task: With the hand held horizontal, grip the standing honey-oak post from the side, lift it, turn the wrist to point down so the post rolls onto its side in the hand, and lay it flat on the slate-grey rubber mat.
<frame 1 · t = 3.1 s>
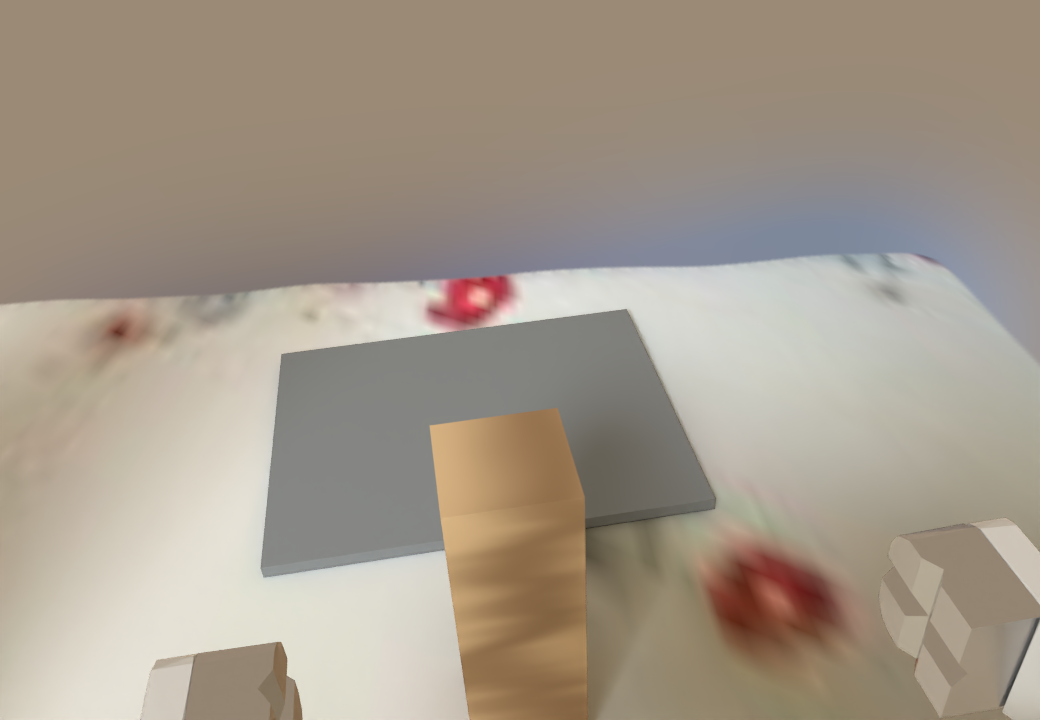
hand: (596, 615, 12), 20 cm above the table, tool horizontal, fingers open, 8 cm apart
slate mat: (473, 426, 46), on the table
oak post: (523, 701, 34), on the table
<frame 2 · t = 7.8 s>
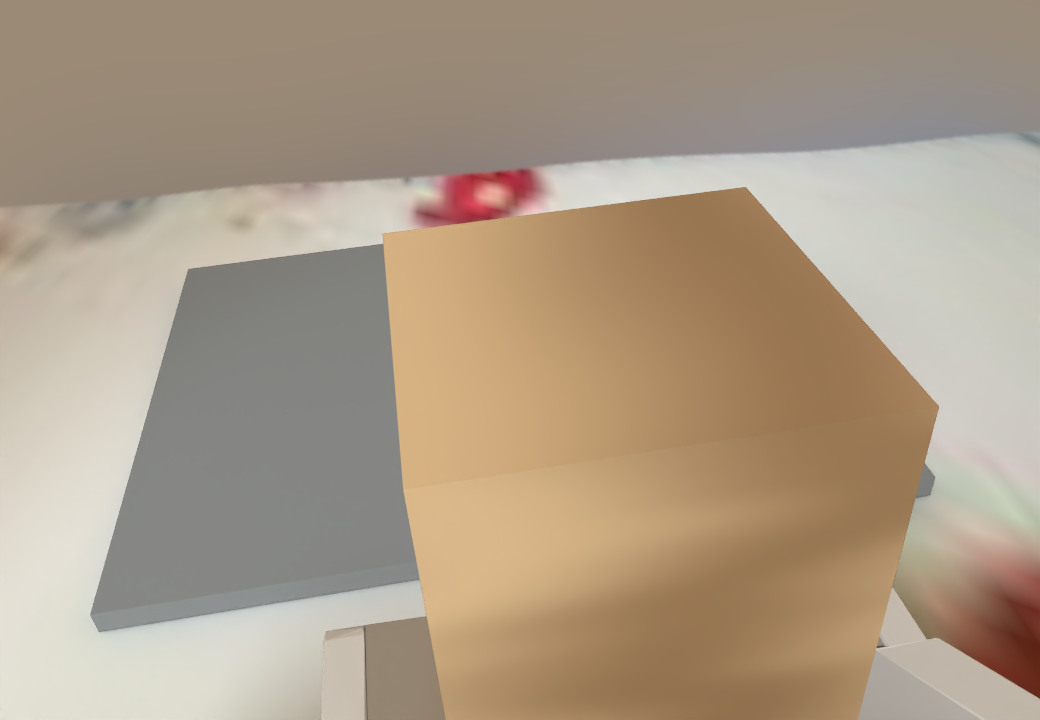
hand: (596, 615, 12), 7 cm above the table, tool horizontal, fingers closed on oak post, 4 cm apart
slate mat: (488, 368, 28), on the table
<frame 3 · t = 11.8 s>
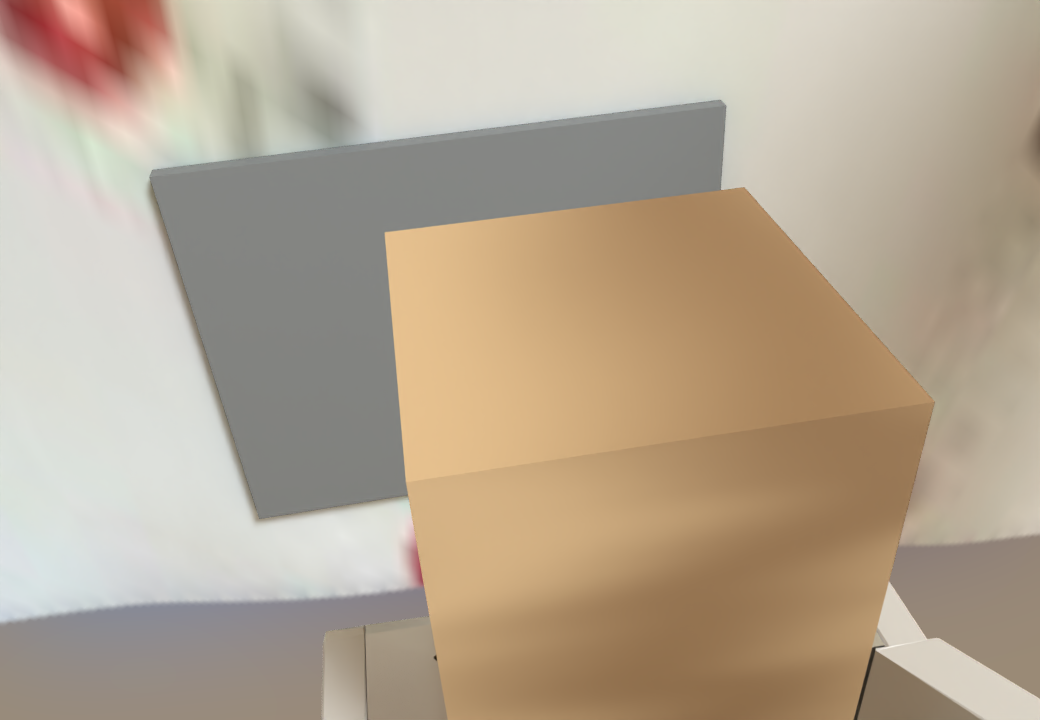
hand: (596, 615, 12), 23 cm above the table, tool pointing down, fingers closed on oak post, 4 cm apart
slate mat: (467, 325, 36), on the table
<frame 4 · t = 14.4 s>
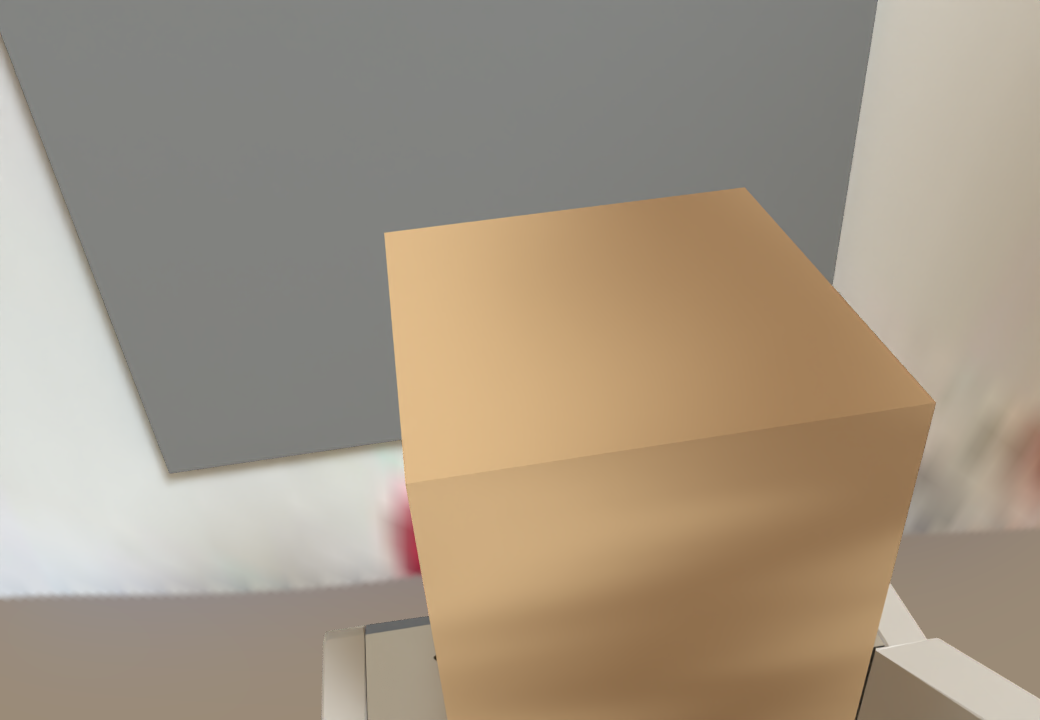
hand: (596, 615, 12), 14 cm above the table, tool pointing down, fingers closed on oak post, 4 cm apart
slate mat: (478, 172, 24), on the table
when the fingers open (3 cm above the table, at t = 16.6 s): oak post drops 2 cm, resting on slate mat.
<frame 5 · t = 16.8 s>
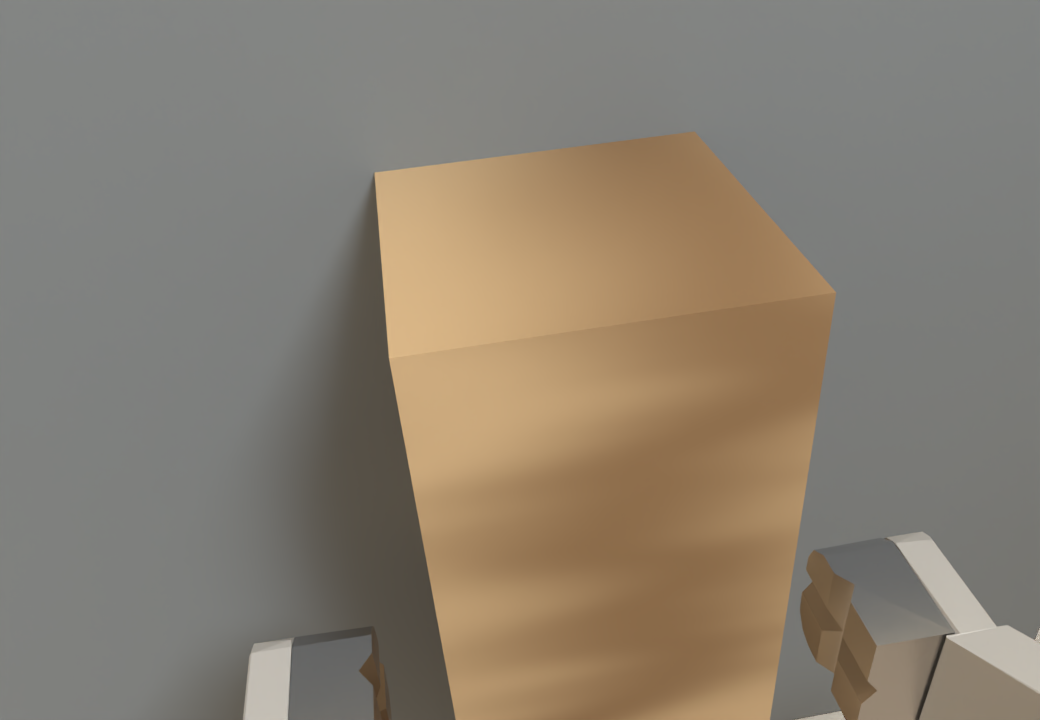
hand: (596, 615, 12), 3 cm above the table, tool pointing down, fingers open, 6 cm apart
slate mat: (547, 451, 15), on the table
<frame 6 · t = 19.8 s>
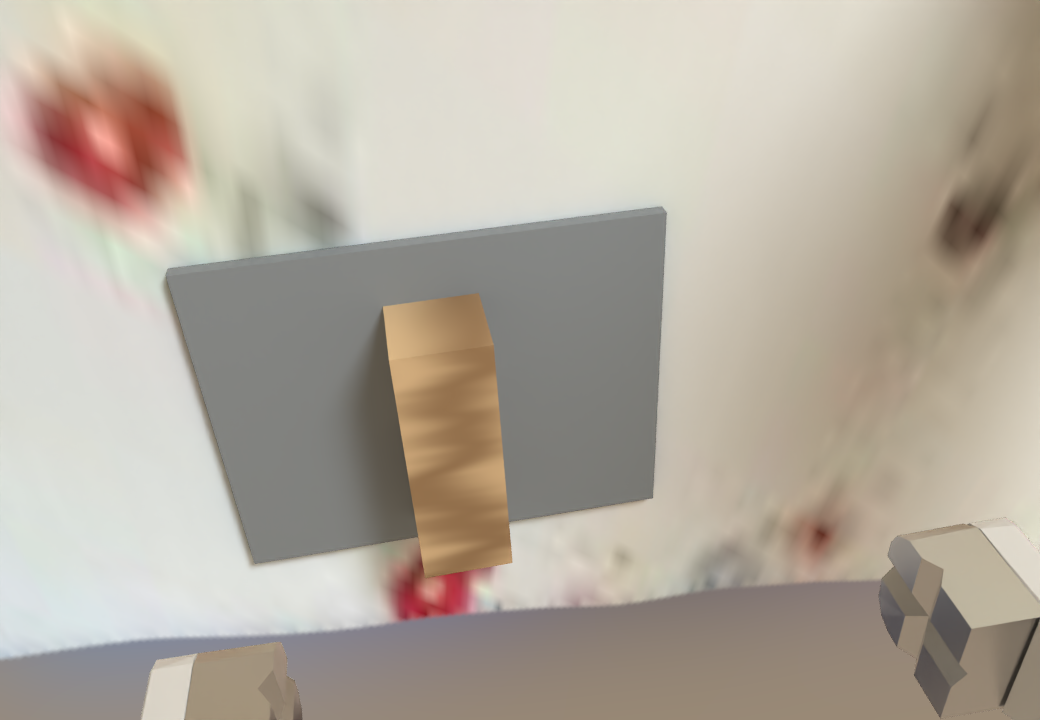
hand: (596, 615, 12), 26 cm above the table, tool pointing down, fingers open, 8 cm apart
slate mat: (442, 394, 41), on the table
oak post: (463, 538, 43), point 3 cm above the table, tilted 90°, touching slate mat
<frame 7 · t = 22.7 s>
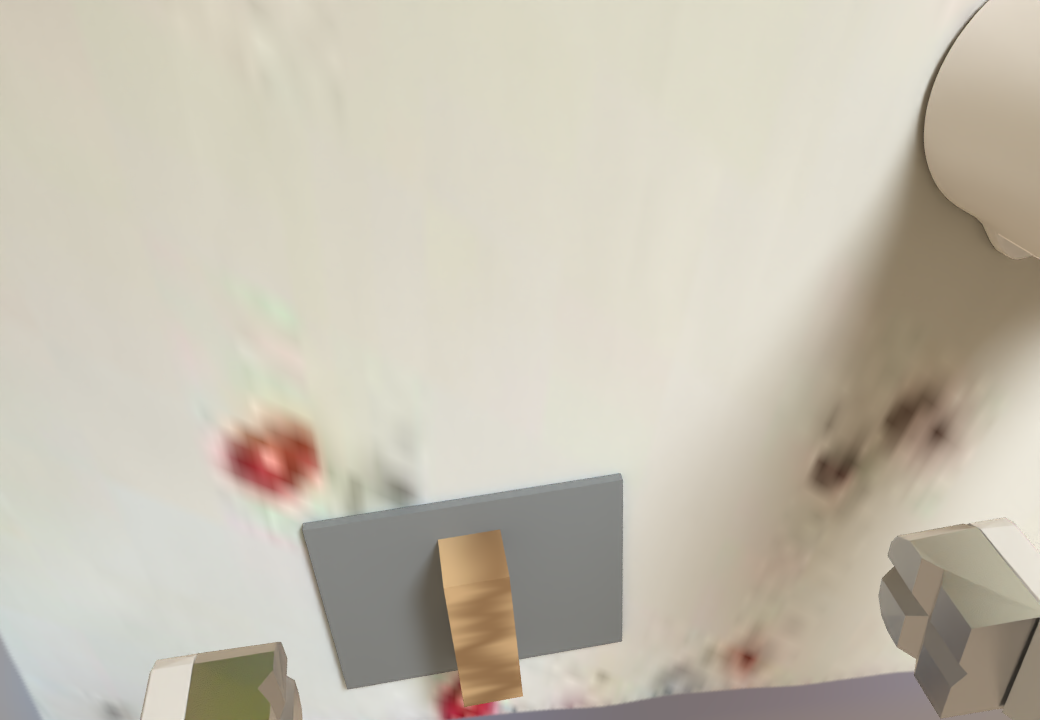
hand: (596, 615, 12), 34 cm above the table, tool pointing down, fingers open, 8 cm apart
slate mat: (475, 584, 62), on the table
oak post: (489, 676, 63), point 3 cm above the table, tilted 90°, touching slate mat
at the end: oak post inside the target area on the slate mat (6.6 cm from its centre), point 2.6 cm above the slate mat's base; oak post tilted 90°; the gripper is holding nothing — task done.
